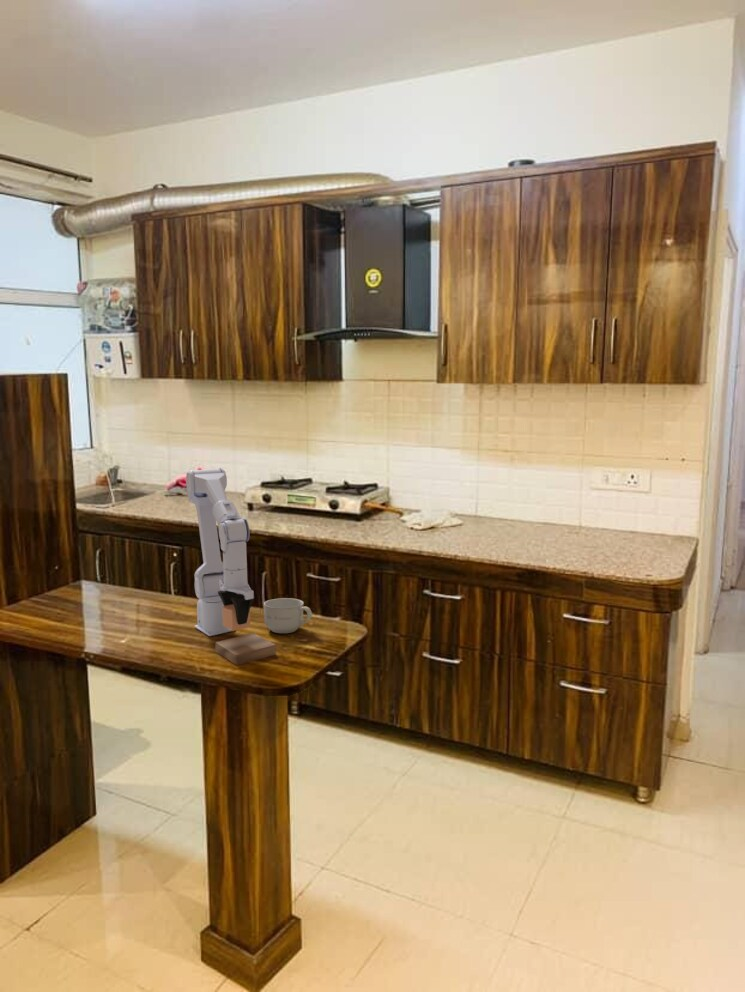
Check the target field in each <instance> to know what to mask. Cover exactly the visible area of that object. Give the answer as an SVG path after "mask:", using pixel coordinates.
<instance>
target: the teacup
mask: <svg viewBox="0 0 745 992" xmlns="http://www.w3.org/2000/svg"><path fill="white" fill-rule="evenodd" d="M263 611H264V613H263V614H264V625H265V626H266V627H267V628H268V629H269V630H270V631H271V632H273V633H275V634H290V633H294V632H296V631H297V630H298V629H299V628H300V627H303V625H304V624H306V623H307V622H309V621H310V620H311V618H312V616H313V614H312V610H311V608H310V607H308V606H306V605H305V606H304V601H303V600H301V599H298V598H293V597H292V598H291V597H290V598H287V597H282V598H274V599H272V598H271V599H269V600H266V601H264V602H263ZM304 611H305V612H306V615H307V616H306V617H305V619H304Z"/></svg>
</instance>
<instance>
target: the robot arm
mask: <svg viewBox="0 0 745 992" xmlns="http://www.w3.org/2000/svg"><path fill="white" fill-rule="evenodd" d="M227 478H228V477H227V474H226V471H225V470H224V468H223V467H219V468H209V469H208V468H207V469H193V470H192V469H189V470H188V471H187V473H186V475H185V482H186V483H185V485H186V493H187V498H188V501H189V502H190V503H192V504H194V505H195V509H196V515H197V521H198V529H199V538H200V539H199V540H200V544H201V552H202V553H201V554H202V561H203V563H202V564H201V565H200V566H199V567H198V568H197V569H196V570H195V572H194V593H195V595H196V597H197V598H198V600H197V604H196V614H197V615H196V617H197V624H195V625H194V628H195V629H197V630H199V631H200V632H201V633H202V634H205V635H207V636H209V637H212V636H217V635H222V634H225V633H230V632H232V631H231V630H230V629H228V628H226V627H224V626H223V611H222V606H227V605H232V604H234V607H235V611H236V618H237V622H238V624H239V625H240V624H245V623H247V619H248V614H249V610H250V611H251V607H252V605H253V603H254V601H255V598H256V597H255V595H254V594H255V593H254V590H252V588H251V587H250V585H249V583H248V560H247V542H248V541H249V540H250V533H251V531H250V526H249V525H250V524H249V522H248V519H247V518H246V517H243V516H240V514H239V511H238V510H237V507H236V506H235V504H234V503H233V501H231V500H229V499H228V497H227V495H226V494H227V493H226V492H225V491H226V489H227V484H228V479H227ZM217 526H218V527H217ZM219 540H220V542H219ZM220 549H221V551H222V557H221V551H220Z"/></svg>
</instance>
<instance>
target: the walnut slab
mask: <svg viewBox="0 0 745 992" xmlns="http://www.w3.org/2000/svg"><path fill="white" fill-rule="evenodd" d="M214 643H215V645H214V647H215V653H216V652H217V653H216V654H218V655H220V656H221V657H223V658H224V659H225V660H228V661H229V662H231V663H233V664H234V665H235V666H238V665H239V666H240V665H243V664H247V663H250V662H253V661H256V660H261V659H265V658H268V657H272V656H275V655H277V647H276V644H275V643H273V642H271V641H270V640H268V639H266V638H264V637H262V636H260V635H258V634H256V633H255V632H251V633H248V634H244V635H238V636H236V637H232V638H231V637H230V638H228V639H224V640H219V641H216V642H214Z"/></svg>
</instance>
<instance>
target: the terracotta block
mask: <svg viewBox="0 0 745 992" xmlns="http://www.w3.org/2000/svg"><path fill="white" fill-rule="evenodd" d="M222 611H223V626H224V627H226V628H228V629H230V630H231V631H230V632H234V631H238V630H243V629H247V628H250V627H251V609H250V610H249V614H248V619H247V623H245V624H240V625H239V624H238V622H237V618H236V611H235V607H234V604H232V605H227V606H222Z"/></svg>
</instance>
